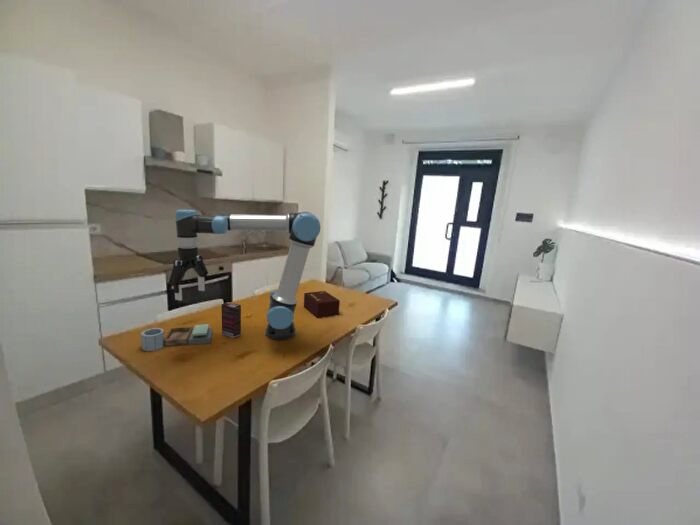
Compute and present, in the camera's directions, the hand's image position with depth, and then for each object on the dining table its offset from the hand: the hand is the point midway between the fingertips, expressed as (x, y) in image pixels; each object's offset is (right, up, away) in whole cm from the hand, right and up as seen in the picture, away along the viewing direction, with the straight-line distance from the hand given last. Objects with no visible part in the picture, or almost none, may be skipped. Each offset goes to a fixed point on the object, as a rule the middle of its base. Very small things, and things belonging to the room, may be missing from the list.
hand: (190, 295), depth 130 cm
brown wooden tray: (-12, -22, +12) cm, 28 cm away
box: (+51, -17, +62) cm, 82 cm away
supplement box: (+10, -22, +20) cm, 32 cm away
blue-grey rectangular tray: (-2, -22, +14) cm, 26 cm away
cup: (-18, -23, +3) cm, 30 cm away
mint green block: (-2, -21, +14) cm, 25 cm away
